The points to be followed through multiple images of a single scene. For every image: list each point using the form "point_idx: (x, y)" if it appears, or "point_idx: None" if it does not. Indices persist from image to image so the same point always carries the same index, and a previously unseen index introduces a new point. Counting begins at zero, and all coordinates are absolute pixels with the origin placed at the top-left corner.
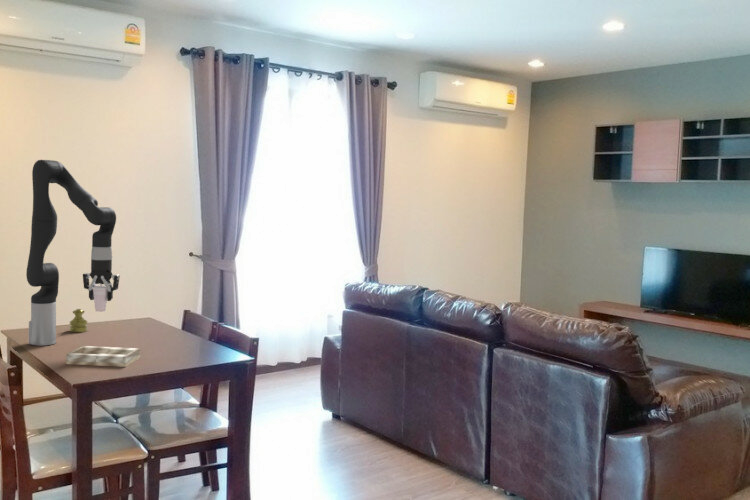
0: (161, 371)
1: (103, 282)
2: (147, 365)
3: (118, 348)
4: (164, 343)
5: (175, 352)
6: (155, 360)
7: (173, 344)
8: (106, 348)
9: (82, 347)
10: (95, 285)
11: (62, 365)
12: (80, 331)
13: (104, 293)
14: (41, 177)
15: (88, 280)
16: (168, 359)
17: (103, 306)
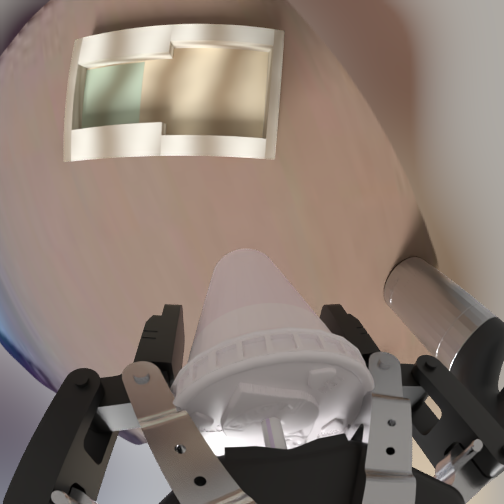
0: (10, 50)
1: (233, 469)
2: (40, 84)
3: (128, 139)
4: (100, 341)
5: (27, 248)
6: (34, 143)
7: (76, 333)
8: (173, 135)
9: (268, 131)
10: (346, 431)
11: (281, 28)
12: None
13: (201, 339)
14: None
15: (430, 446)
16: (13, 165)
17: (215, 274)
